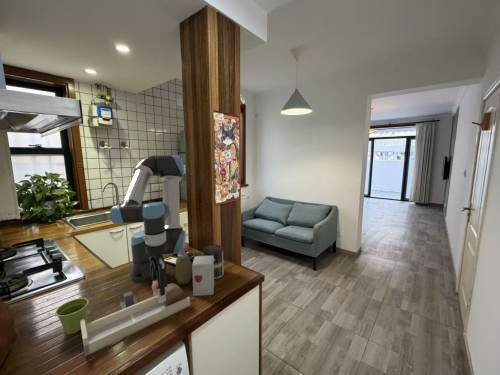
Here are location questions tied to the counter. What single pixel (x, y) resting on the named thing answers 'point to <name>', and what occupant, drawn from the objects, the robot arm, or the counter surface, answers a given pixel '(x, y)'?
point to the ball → (155, 286)
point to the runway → (126, 322)
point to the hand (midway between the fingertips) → (159, 298)
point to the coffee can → (216, 259)
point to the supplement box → (203, 275)
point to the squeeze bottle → (183, 268)
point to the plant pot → (72, 314)
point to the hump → (173, 294)
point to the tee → (128, 300)
